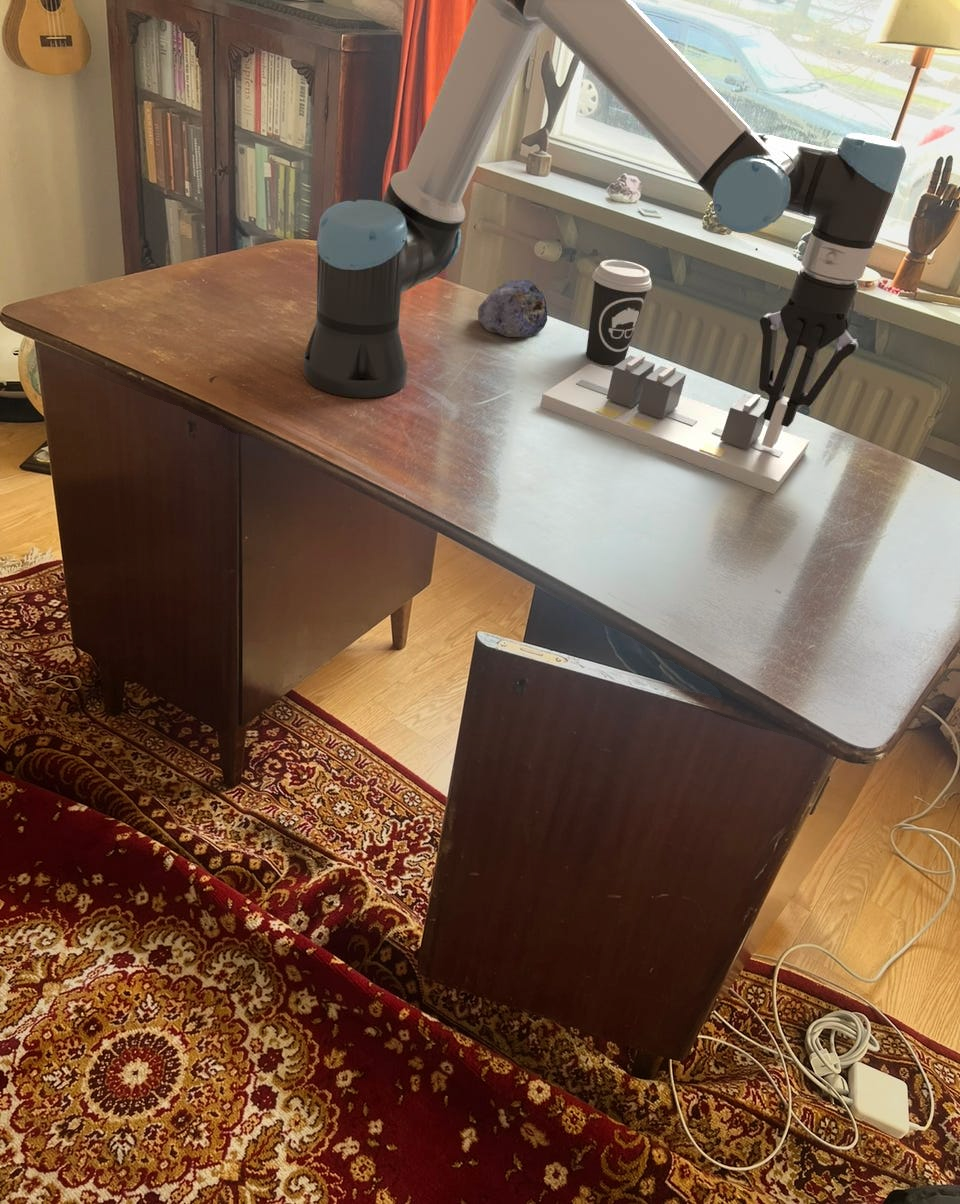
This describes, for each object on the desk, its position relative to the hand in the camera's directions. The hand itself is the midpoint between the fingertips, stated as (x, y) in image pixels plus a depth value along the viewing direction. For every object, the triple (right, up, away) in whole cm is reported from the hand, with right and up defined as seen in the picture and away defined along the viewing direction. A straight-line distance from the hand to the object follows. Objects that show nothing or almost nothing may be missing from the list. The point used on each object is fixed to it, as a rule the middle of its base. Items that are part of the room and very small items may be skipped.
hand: (769, 443), depth 129 cm
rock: (-36, +25, +31) cm, 53 cm away
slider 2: (-14, +6, +6) cm, 17 cm away
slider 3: (-4, +1, +2) cm, 4 cm away
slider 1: (-19, +8, +8) cm, 22 cm away
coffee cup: (-20, +19, +26) cm, 37 cm away
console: (-12, +3, +7) cm, 14 cm away
